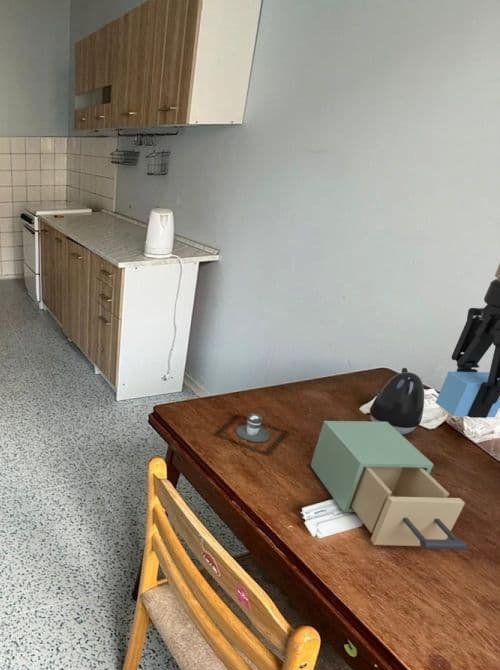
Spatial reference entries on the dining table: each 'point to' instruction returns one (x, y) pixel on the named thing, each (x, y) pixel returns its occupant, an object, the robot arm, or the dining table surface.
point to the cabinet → (360, 455)
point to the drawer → (406, 508)
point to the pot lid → (253, 429)
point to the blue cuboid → (463, 393)
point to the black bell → (400, 402)
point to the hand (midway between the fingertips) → (465, 408)
